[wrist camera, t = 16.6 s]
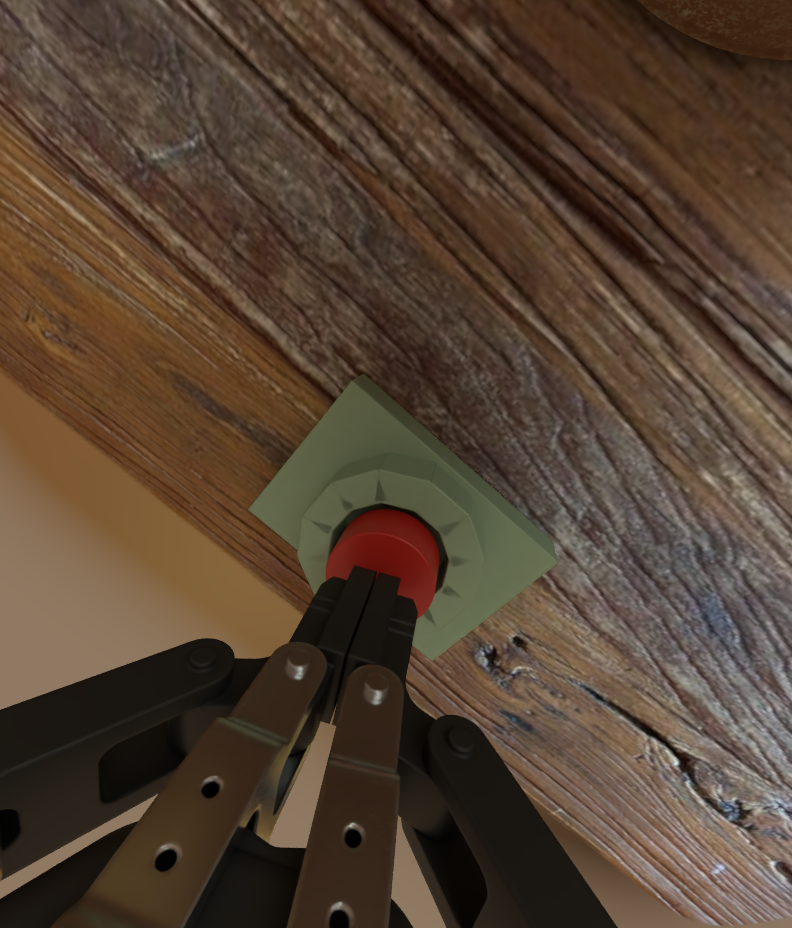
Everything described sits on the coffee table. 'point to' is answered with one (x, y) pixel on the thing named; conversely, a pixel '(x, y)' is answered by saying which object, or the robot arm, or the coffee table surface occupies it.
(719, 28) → the planter
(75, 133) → the coffee table surface
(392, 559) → the button
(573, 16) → the coffee table surface
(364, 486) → the button block
